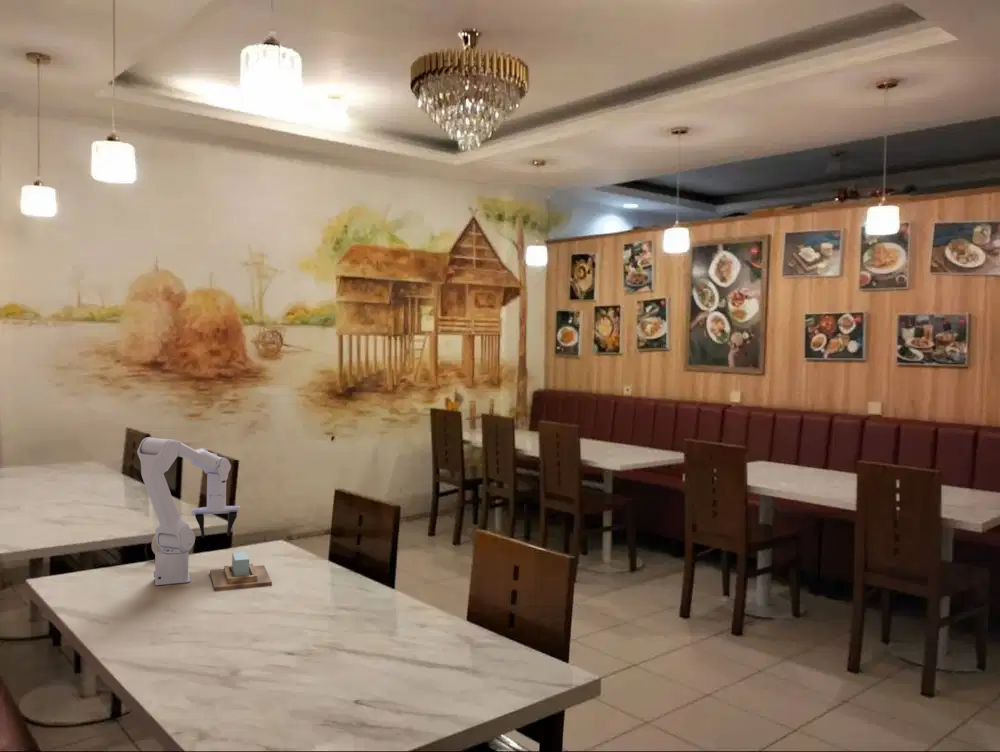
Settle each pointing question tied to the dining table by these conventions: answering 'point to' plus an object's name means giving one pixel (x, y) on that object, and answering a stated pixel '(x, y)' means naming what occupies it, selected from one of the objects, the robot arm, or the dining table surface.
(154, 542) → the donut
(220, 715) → the dining table surface
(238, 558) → the tall light blue prism
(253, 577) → the cradle
